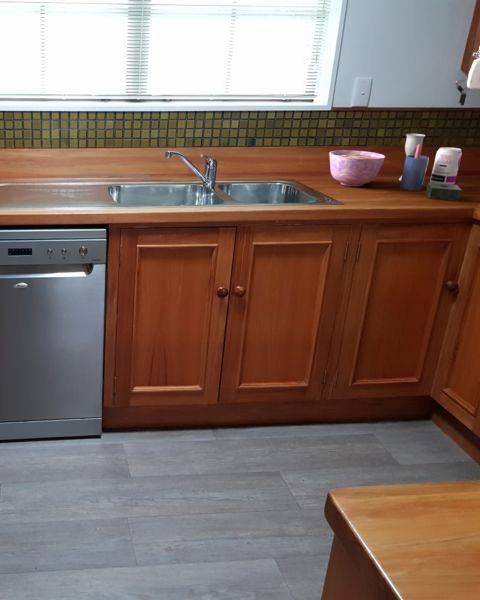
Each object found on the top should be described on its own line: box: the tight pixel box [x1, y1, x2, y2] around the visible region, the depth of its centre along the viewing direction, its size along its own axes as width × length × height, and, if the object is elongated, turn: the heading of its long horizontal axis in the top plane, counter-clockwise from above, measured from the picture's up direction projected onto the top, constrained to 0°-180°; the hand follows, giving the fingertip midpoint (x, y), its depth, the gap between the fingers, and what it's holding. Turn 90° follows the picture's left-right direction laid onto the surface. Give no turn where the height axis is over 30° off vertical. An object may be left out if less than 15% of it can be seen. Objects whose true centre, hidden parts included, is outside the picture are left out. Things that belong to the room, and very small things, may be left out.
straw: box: [415, 144, 423, 158], centre depth 229 cm, size 2×2×16 cm
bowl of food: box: [329, 149, 386, 187], centre depth 236 cm, size 20×20×12 cm
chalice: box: [398, 133, 426, 181], centre depth 244 cm, size 7×7×18 cm
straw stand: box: [425, 182, 463, 202], centre depth 219 cm, size 9×9×4 cm
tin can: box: [399, 155, 430, 191], centre depth 230 cm, size 8×8×12 cm
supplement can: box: [429, 146, 463, 185], centre depth 231 cm, size 8×8×15 cm
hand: (476, 105), depth 224 cm, fingers open, 9 cm apart
